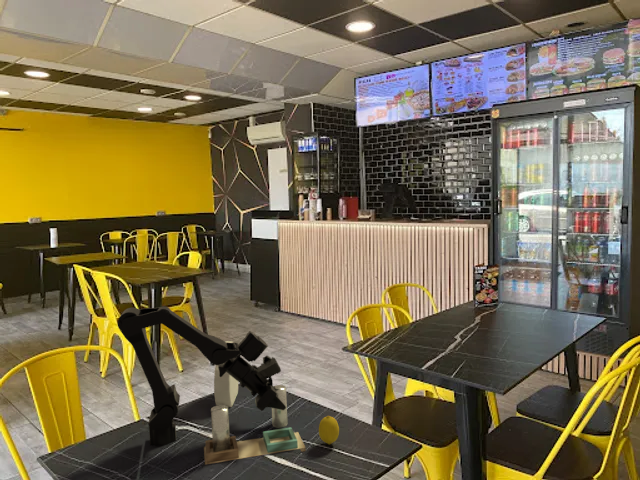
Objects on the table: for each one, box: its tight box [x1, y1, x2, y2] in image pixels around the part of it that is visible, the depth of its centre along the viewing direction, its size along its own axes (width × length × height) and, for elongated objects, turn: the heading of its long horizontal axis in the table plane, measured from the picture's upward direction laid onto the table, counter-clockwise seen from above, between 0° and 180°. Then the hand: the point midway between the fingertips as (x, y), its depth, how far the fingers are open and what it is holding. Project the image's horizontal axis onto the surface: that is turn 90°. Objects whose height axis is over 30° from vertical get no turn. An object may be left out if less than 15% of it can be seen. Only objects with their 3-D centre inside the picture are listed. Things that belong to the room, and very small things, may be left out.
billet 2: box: [271, 384, 288, 429], centre depth 145 cm, size 4×4×12 cm
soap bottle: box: [213, 340, 239, 408], centre depth 166 cm, size 16×5×20 cm, turn 179°
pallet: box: [203, 426, 307, 465], centre depth 133 cm, size 26×9×3 cm, turn 105°
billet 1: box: [210, 405, 231, 452], centre depth 130 cm, size 4×4×12 cm
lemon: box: [318, 415, 340, 445], centre depth 135 cm, size 6×6×8 cm
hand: (283, 405), depth 146 cm, fingers closed on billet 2, 4 cm apart
